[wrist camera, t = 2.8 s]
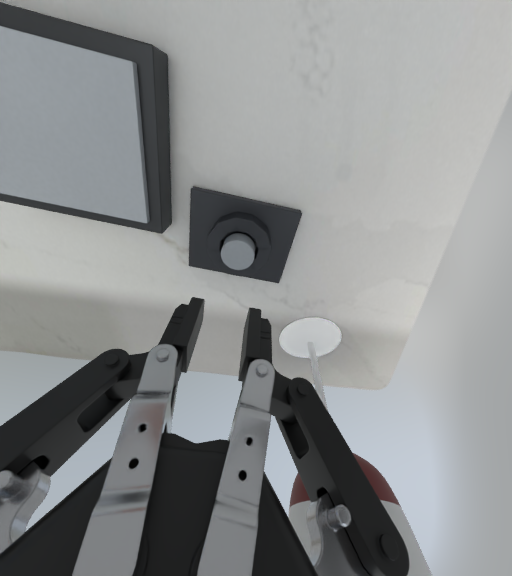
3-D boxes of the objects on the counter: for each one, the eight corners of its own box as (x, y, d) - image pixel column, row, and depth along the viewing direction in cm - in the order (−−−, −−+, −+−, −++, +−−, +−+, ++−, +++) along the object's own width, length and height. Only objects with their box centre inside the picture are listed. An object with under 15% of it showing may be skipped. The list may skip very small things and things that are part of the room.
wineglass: (359, 327, 30) (507, 660, 11) (318, 366, 35) (372, 631, 17) (299, 304, 28) (360, 661, 10) (265, 350, 34) (263, 628, 15)
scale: (167, 54, 15) (148, 41, 13) (171, 223, 22) (159, 236, 20) (-64, -10, 14) (-136, -38, 11) (19, 192, 21) (-14, 201, 18)
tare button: (258, 236, 20) (257, 244, 19) (251, 264, 22) (250, 273, 21) (225, 229, 20) (222, 237, 19) (221, 258, 22) (218, 266, 21)
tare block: (301, 210, 21) (304, 219, 19) (278, 278, 26) (279, 292, 24) (193, 186, 20) (185, 193, 18) (190, 261, 25) (184, 274, 23)
